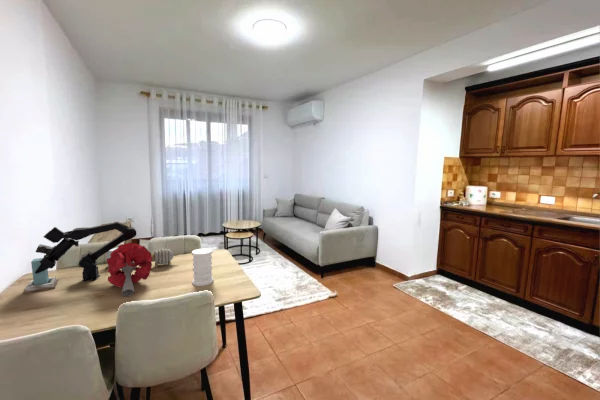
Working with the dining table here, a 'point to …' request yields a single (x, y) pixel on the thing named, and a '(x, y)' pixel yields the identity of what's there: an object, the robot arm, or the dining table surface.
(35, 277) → the block
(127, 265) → the red model tree
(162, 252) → the toy sheep
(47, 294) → the dining table surface
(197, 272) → the decorative container
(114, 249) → the small box
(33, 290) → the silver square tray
